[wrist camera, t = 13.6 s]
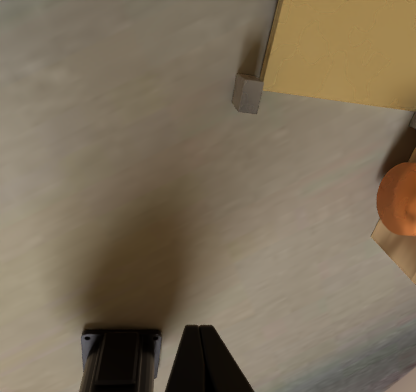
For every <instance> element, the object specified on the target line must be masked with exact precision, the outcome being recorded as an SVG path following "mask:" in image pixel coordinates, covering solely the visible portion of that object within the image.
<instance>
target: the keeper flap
mask: <svg viewBox="0 0 416 392" xmlns="http://www.w3.org/2000/svg"><path fill="white" fill-rule="evenodd" d="M260 80H262V81H263V82H264V86H263V90H264V91H271V92H278V93H286V94H293V95H300V96H307V97H314V98H322V99H329V100H336V101H343V102H350V103H358V104H365V105H372V106H379V107H386V108H393V109H401V110H408V111H415V112H416V0H278V4H277V8H276V13H275V17H274V21H273V25H272V29H271V33H270V37H269V42H268V46H267V50H266V54H265V58H264V62H263V67H262V71H261V75H260Z"/></svg>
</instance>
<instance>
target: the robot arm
mask: <svg viewBox="0 0 416 392" xmlns="http://www.w3.org/2000/svg"><path fill="white" fill-rule="evenodd" d="M161 338H162V333H161V332H160V331H158V330H86V331H84V332H83V333H82V336H81V345H82V359H83V372H84V373H83V377H82V382H81V386H80V390H79V392H153V387H154V379H155V378H156V377H157V372H158V364H159V355H160V347H161ZM165 392H254V390H253V389H252V387H251V385H250V384H249V382H248V381H247V379H246V377H245V376H244V374H243V373H242V371H241V370H240V368H239V366H238V365H237V363H236V362H235V360H234V358H233V357H232V355H231V354H230V352H229V350H228V349H227V347H226V346H225V344H224V342H223V341H222V339H221V338H220V336H219V334H218V333H217V331H216V330H215V328H214V327H213V326H212V325H200V326H198V325H186V326H185V328H184V331H183V334H182V337H181V341H180V344H179V347H178V350H177V354H176V357H175V360H174V364H173V367H172V370H171V373H170V377H169V380H168V383H167V386H166V390H165Z"/></svg>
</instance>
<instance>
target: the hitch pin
mask: <svg viewBox="0 0 416 392" xmlns="http://www.w3.org/2000/svg"><path fill="white" fill-rule="evenodd" d="M377 210H378V214H379V217H380V219H381V221H382V223H383V224H384V226H385V227H386V228H387V229H388V230H389V231H391V232H392V233H395V234H397V235H405V236H416V163H410V162H406V163H401V164H398V165H396V166H394V167H393V168H392V169H390V170H389V171H388V172H387V173H386V175H385V176H384V178H383V179H382V181H381V183H380V186H379V189H378V193H377Z"/></svg>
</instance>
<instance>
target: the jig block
mask: <svg viewBox="0 0 416 392" xmlns="http://www.w3.org/2000/svg"><path fill="white" fill-rule="evenodd" d="M408 162H410V163H416V147H415V149H414V151H413V153H412V155H411V157H410V159H409V161H408ZM371 237H372V238H373V240H374V241H375V242H376V243H377V244H378V245H379V246H380V247H381V248H382V249H383V250H384V251H385V252H386V254H387V255H388V256H389V257H390V258H391V259H392V260H393V261H394V262H395V263H396V264H397V265H398V266H399V268H400V269H401V270H402V271H403V272H404V273H405V274H406V275H407V276H408V277H409V278H410V279H411V280H412V282H413V283H414V284H415V285H416V236H405V235H397V234H395V233H392V232H391V231H389V230H388V229H387V228H386V227H385V226H384V224H383V223H382V221H381V219H380V220H379V222H378V224H377V226H376V228H375V230H374V232H373V234H372V236H371Z"/></svg>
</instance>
